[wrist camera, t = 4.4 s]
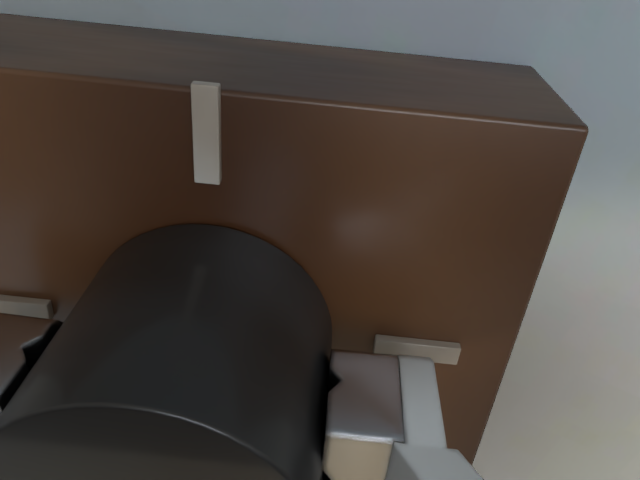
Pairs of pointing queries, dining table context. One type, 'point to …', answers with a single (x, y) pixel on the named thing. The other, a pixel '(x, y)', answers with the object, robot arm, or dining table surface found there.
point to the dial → (179, 368)
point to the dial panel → (292, 180)
